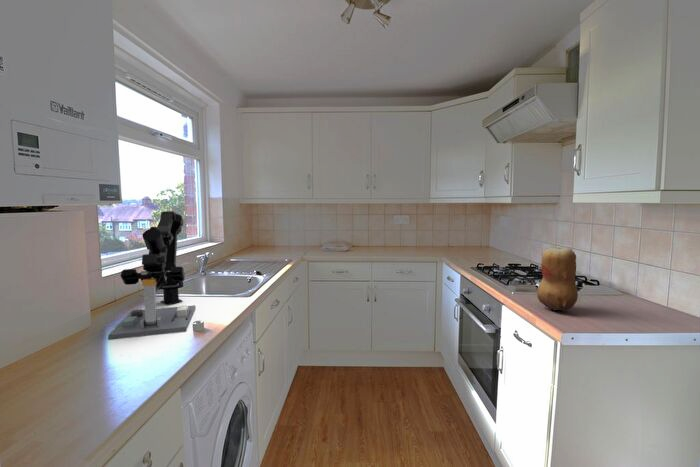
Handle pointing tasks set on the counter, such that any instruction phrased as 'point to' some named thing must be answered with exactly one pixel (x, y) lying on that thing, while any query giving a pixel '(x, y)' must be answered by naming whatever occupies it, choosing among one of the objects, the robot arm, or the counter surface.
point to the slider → (182, 312)
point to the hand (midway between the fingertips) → (150, 296)
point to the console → (165, 324)
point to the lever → (150, 301)
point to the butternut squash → (558, 279)
